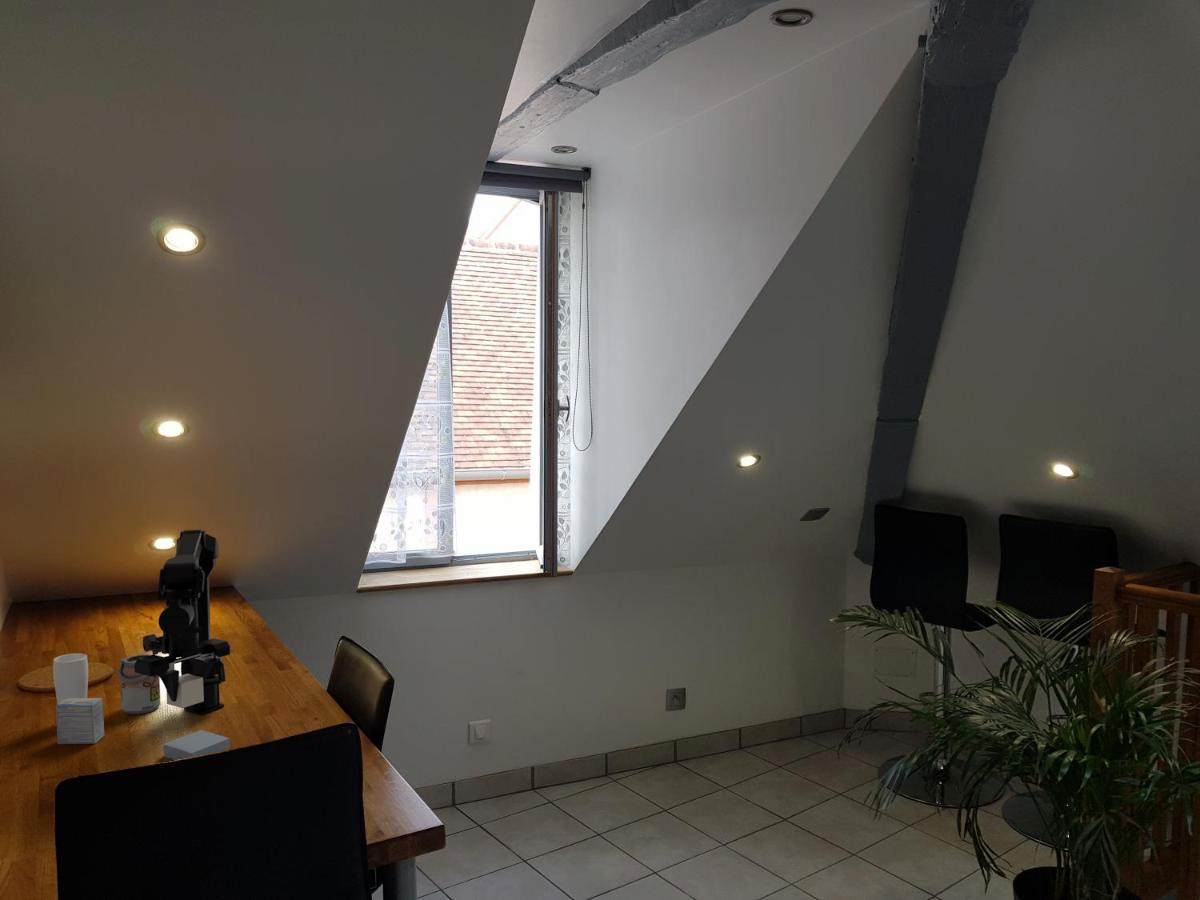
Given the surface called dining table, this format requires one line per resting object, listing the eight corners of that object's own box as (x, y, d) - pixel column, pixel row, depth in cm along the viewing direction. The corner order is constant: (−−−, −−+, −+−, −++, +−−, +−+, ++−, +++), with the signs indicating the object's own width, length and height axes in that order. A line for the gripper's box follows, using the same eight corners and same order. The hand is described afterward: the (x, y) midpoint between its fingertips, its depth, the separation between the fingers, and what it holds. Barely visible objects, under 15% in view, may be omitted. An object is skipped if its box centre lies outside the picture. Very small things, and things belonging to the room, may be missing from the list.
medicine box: (105, 736, 211) (103, 697, 210) (95, 744, 207) (93, 704, 206) (67, 737, 211) (65, 697, 210) (57, 745, 206) (55, 704, 206)
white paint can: (151, 716, 223) (149, 664, 222) (113, 717, 222) (111, 665, 221) (166, 702, 232) (164, 652, 231) (129, 703, 231) (127, 653, 230)
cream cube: (188, 697, 205) (187, 673, 205) (203, 701, 203) (202, 677, 202) (166, 703, 201) (166, 680, 201) (182, 708, 199) (181, 683, 198)
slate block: (201, 743, 208) (201, 730, 208) (229, 752, 204) (229, 738, 203) (163, 758, 200) (163, 744, 200) (192, 767, 196) (191, 753, 196)
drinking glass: (86, 727, 216) (83, 660, 215) (52, 730, 214) (49, 663, 213) (93, 716, 223) (90, 652, 221) (60, 719, 221) (56, 654, 219)
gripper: (197, 609, 213) (199, 679, 214) (116, 627, 197) (119, 703, 198) (231, 615, 207) (233, 687, 208) (150, 635, 191) (153, 713, 192)
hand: (185, 697), depth 202 cm, fingers closed on cream cube, 5 cm apart
